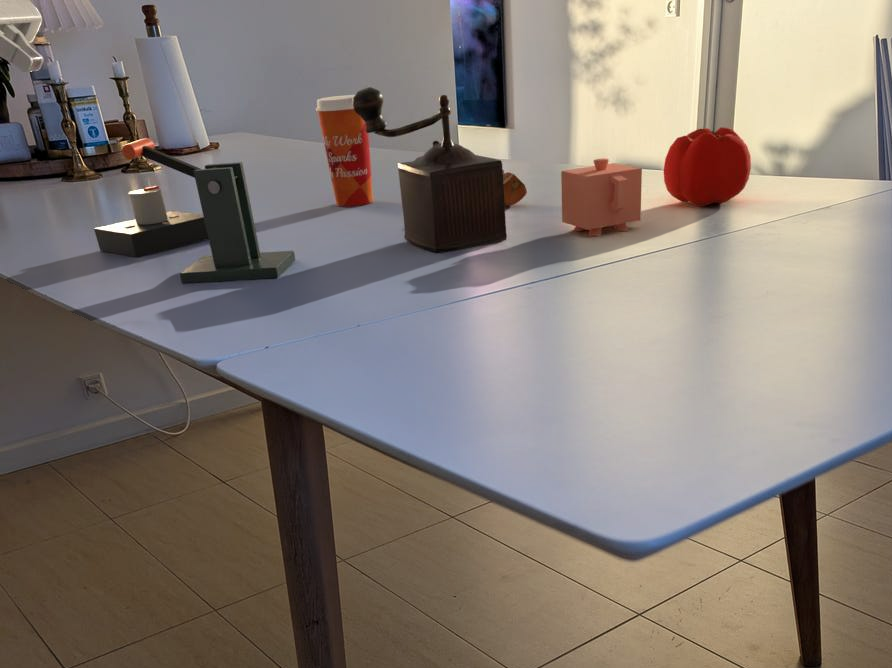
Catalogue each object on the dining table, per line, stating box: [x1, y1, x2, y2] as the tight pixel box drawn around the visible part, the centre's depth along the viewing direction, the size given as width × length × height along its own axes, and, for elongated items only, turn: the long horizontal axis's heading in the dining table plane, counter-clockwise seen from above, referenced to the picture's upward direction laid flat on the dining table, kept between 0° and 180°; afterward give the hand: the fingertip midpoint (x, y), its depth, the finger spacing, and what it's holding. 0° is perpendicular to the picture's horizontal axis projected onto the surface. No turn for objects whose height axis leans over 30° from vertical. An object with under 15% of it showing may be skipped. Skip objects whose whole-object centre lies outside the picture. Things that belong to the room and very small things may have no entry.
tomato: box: [663, 127, 752, 207], centre depth 126 cm, size 11×12×9 cm
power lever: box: [121, 137, 238, 183], centre depth 108 cm, size 12×6×2 cm, turn 86°
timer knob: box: [128, 185, 168, 225], centre depth 129 cm, size 4×4×4 cm
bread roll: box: [503, 169, 528, 207], centre depth 136 cm, size 8×7×5 cm
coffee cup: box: [315, 94, 374, 208], centre depth 145 cm, size 8×8×15 cm
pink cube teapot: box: [560, 157, 643, 237], centre depth 117 cm, size 8×12×8 cm, turn 24°
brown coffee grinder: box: [353, 86, 508, 254], centre depth 114 cm, size 16×11×18 cm
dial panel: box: [93, 210, 209, 258], centre depth 132 cm, size 13×10×3 cm
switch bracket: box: [179, 161, 296, 284], centre depth 111 cm, size 12×9×12 cm
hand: (35, 66), depth 102 cm, fingers closed
